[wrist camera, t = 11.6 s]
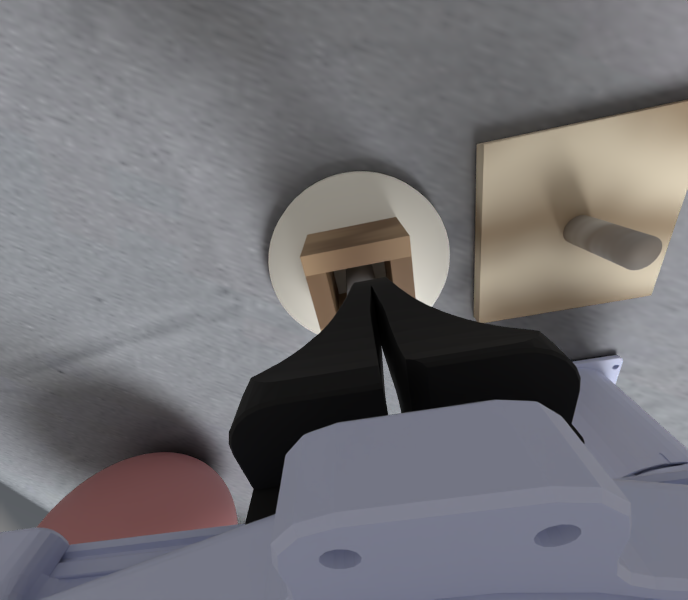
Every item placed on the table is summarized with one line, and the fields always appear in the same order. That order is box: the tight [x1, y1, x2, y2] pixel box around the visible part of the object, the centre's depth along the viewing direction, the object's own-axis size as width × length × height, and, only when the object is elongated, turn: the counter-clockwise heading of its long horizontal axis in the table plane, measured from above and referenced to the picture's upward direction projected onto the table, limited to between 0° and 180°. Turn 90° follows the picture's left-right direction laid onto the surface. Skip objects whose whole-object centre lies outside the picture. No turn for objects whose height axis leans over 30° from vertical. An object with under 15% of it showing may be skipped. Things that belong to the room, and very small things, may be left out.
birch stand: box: [474, 99, 688, 323], centre depth 17 cm, size 12×12×6 cm
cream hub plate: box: [268, 171, 450, 334], centre depth 18 cm, size 12×12×6 cm
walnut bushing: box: [300, 217, 416, 331], centre depth 18 cm, size 6×6×4 cm
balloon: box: [37, 452, 238, 545], centre depth 25 cm, size 15×20×15 cm
